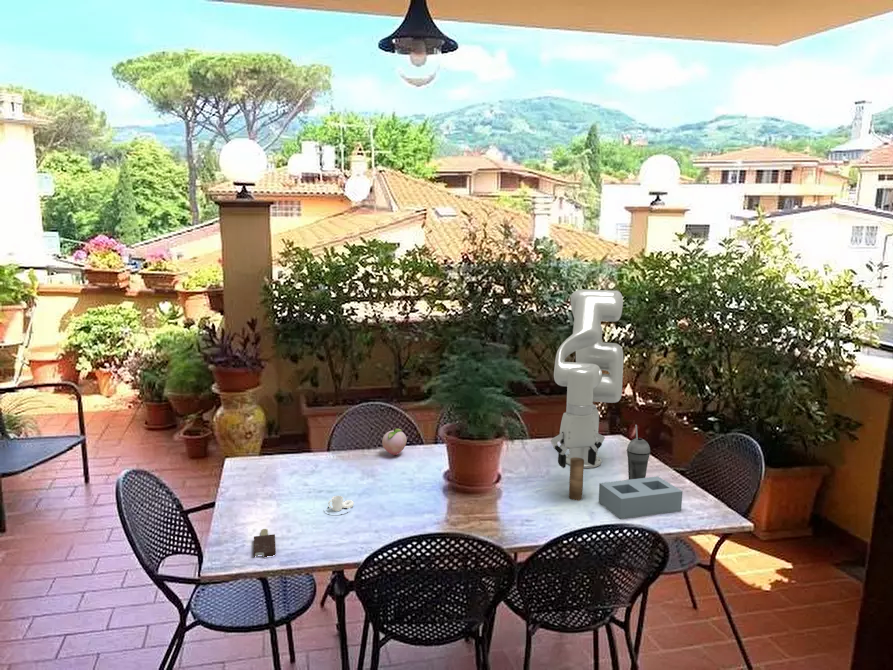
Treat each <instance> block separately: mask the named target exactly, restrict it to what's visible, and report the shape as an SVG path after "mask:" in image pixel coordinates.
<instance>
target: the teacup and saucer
mask: <svg viewBox="0 0 893 670" xmlns="http://www.w3.org/2000/svg"><path fill="white" fill-rule="evenodd" d="M330 503H331V504H330ZM354 504H355V501H353V500H352V499H346V500H345V501H344V497H343V496H341V495H334V496H332V497H331V500H329V501H328V506H329V507H330V508H329V509H332V511H334V512H336V511H339V512H341V511H342V510H343V509H344V508H347V509H346V510H348V508H352V507H354ZM330 505H332V506H333V507H331V506H330ZM340 510H341V511H340Z"/></svg>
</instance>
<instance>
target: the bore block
mask: <svg viewBox="0 0 893 670" xmlns="http://www.w3.org/2000/svg"><path fill="white" fill-rule="evenodd" d="M598 489H599V490H598V503H599V504H600V505H601V506H602V507H604V508H606V509H607V510H608V511H609V512H610V513H612V514H613V515H615V516H616V518H618V519H620V520H625V519H630V518H638V517H639V518H640V517H644V516H653V515H661V514H667V513H669V514H670V513H675V512H681V511H682V504H683V492H684V491H683V490H681V489H680V488H678V487H676V486H675V485H673V484H672V483H670V482H668V481H666V480H665V479H663V478H661V477H660V476H658V475H657V476H648V477H645V478H639V479H630V480H629V479H623V480H616V481H605V482H599V488H598Z"/></svg>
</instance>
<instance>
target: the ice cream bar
mask: <svg viewBox="0 0 893 670" xmlns="http://www.w3.org/2000/svg"><path fill="white" fill-rule="evenodd" d="M268 532H269V530H268V529H267V528H263V529H261V530H260V535H256V536H253V558H254V557H255V556H258V555H262V556H264V557H267V556H273V555H275V554H276V553H277V551H276V549H277V548H276V535H275V534H269V533H268ZM276 555H277V554H276ZM276 555H275V556H276ZM264 557H263V558H264Z"/></svg>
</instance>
